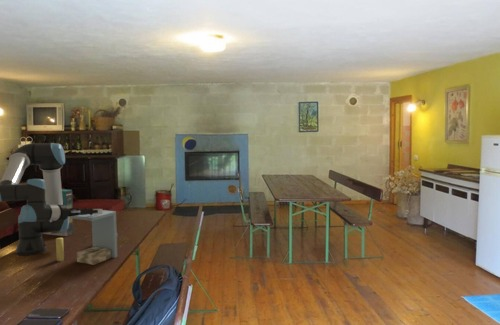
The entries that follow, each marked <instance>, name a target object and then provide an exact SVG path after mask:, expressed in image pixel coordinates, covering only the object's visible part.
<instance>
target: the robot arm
mask: <svg viewBox="0 0 500 325" xmlns="http://www.w3.org/2000/svg"><path fill="white" fill-rule="evenodd" d="M8 162H9V163H8V165H7V168H5V171H4V173H3V175H2V177H1V179H0V203H2V202H13V201H15V202H17V201H26V204H25V205H22V207H21V208H20V214H19V215H18V218H17V219H18V220H17V226H18V243H17V246H16V249H15V250H16V252H15V254H16V255H17V256H33V255H38V254H41V253H44V252H46V250H47V245H46V243H45V240H44V238H43V234H42V233H49V232H62V231H66V230H67V229H68V226H69V217H70V216H77V215H90V216H91V215H94V214H103V208H86V207H85V208H74V207H73V208H70V209H68V208H67V206H66V205H63V198H62V179H61V178H62V176H61V169H62V168H63V167H64V165H65V164H66V154H65V151H64V148H63V145H62V144H60V143H54V142H51V143H50V142H45V143H44V142H43V143H37V142H36V143H35V142H34V143H31V142H30V143H27V144H24V145H22V146H21V145H20V146H19V147H18V148H16V149H15V150H14V151H13V152H12V153H11V154H10V155H9V159H8ZM35 165H36V166H38V168H39V170H41V171H42V176H43V179H42V178H29V179H27V180H26V183H20V182H21V180H22V177H23V175H24V172H25V171H26V169H27V168H28V167H29V166H35ZM45 196H46V205H45Z"/></svg>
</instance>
